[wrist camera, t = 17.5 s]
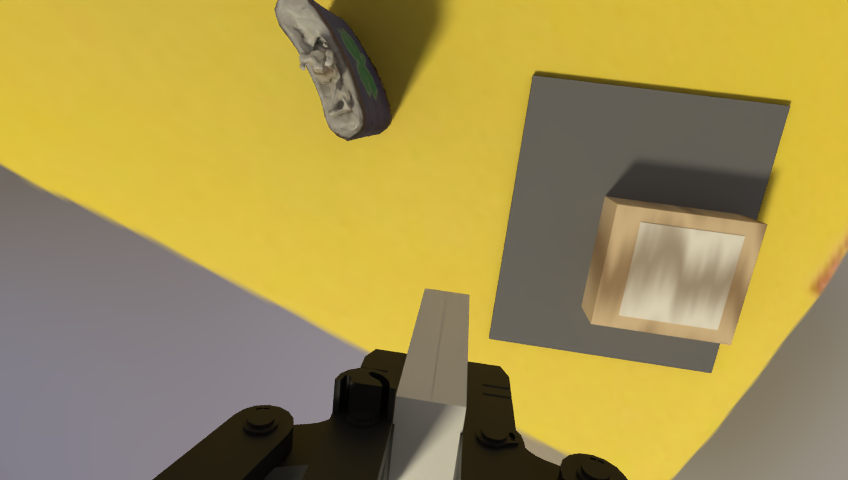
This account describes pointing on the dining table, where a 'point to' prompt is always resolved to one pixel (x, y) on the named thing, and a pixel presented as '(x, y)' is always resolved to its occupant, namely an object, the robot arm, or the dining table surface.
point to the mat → (620, 178)
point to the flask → (336, 69)
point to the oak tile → (671, 269)
